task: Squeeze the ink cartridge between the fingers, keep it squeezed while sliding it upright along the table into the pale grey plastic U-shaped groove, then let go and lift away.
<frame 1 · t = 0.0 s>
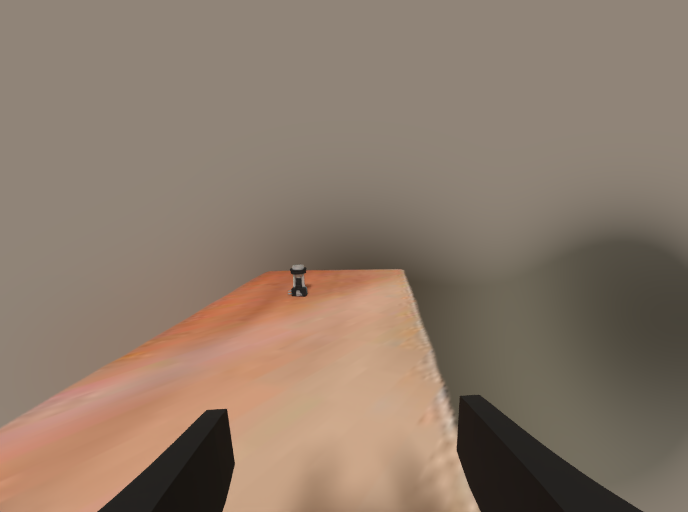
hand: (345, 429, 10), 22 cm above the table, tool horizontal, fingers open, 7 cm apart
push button: (297, 296, 106), on the table
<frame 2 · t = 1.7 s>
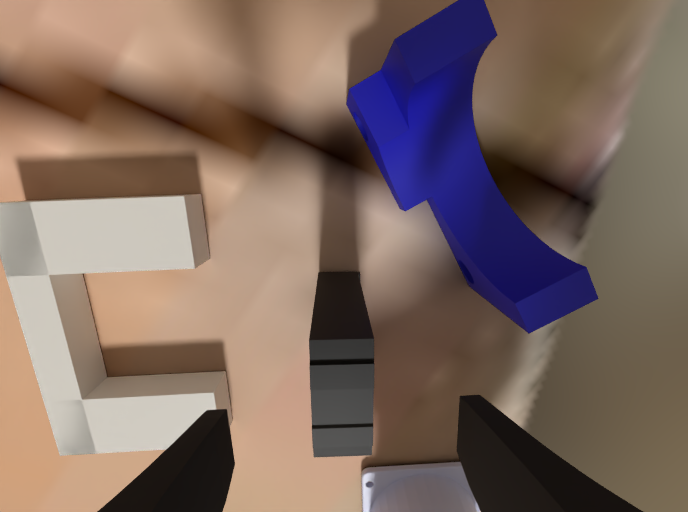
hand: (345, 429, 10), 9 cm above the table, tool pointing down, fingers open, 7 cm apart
blue curved piece: (434, 187, 18), on the table
groove holder: (165, 319, 18), on the table
ink cartridge: (339, 309, 19), on the table
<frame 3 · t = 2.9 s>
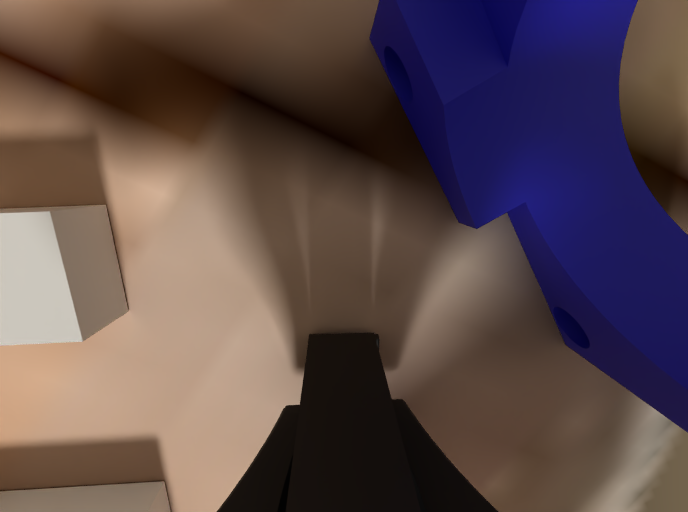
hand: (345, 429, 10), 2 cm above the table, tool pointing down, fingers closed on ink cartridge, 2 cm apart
blue curved piece: (516, 186, 10), on the table
groove holder: (61, 407, 11), on the table
ink cartridge: (343, 387, 12), on the table, touching gripper
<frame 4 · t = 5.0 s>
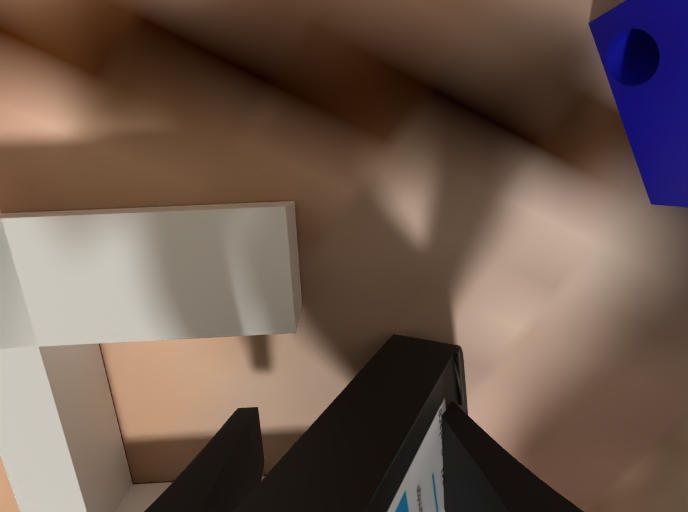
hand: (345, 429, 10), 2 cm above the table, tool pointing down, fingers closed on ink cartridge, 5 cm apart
groove holder: (226, 399, 12), on the table
ink cartridge: (439, 395, 11), on the table, touching gripper
when the fingers open (2 cm above the table, at t = 6.7 s): ink cartridge stays where it is, on the table.
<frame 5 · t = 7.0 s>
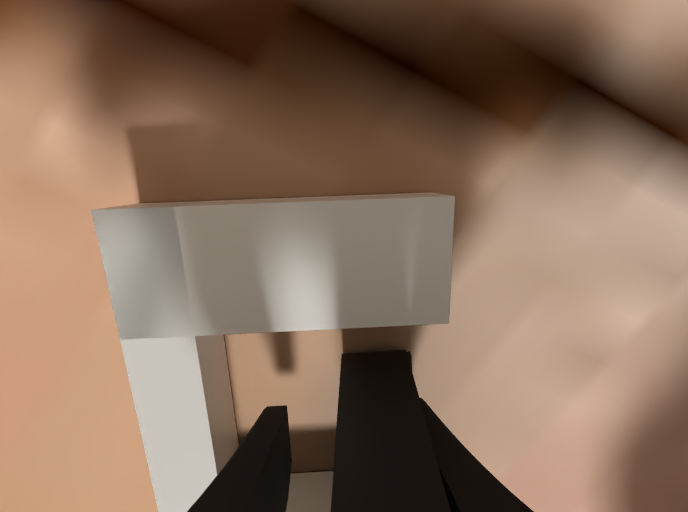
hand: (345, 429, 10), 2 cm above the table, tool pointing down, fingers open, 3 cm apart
groove holder: (343, 391, 12), on the table
ink cartridge: (379, 403, 12), on the table, touching gripper
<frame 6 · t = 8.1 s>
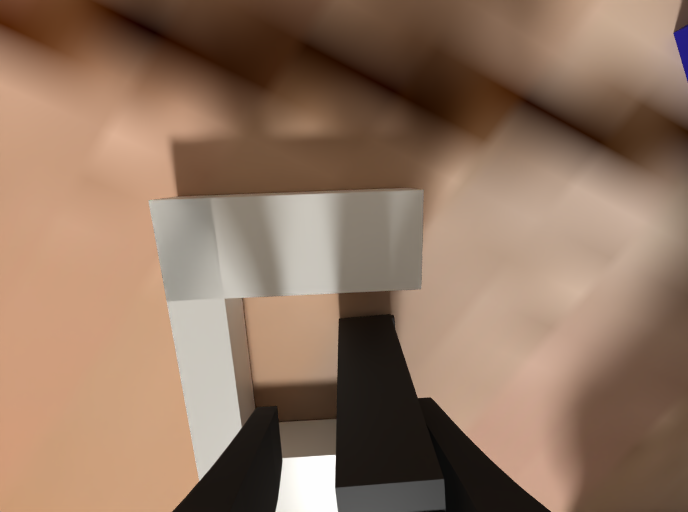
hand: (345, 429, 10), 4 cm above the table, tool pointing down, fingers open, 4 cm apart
groove holder: (340, 351, 14), on the table
ink cartridge: (369, 361, 15), on the table, touching gripper
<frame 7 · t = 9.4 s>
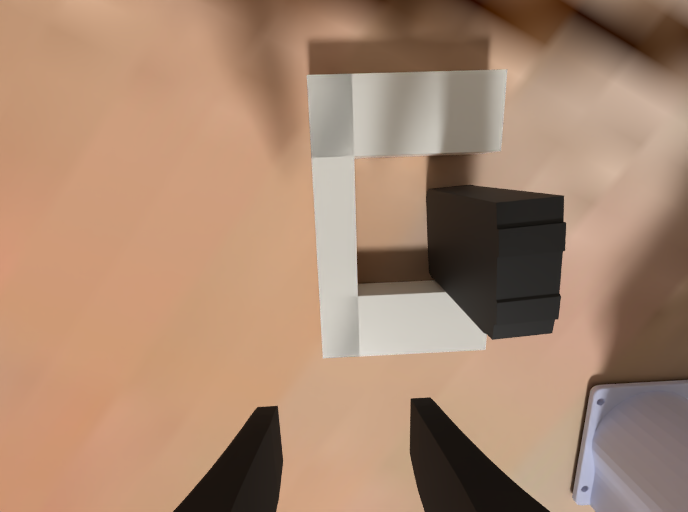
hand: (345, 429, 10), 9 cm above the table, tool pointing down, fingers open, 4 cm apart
groove holder: (424, 221, 18), on the table
ink cartridge: (445, 231, 18), on the table
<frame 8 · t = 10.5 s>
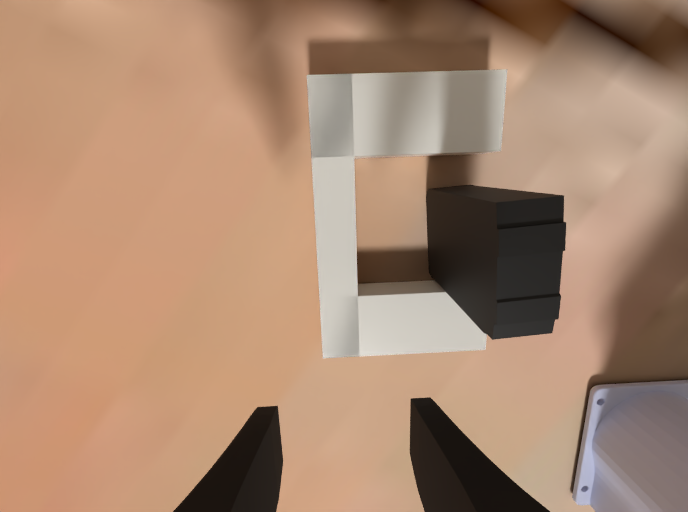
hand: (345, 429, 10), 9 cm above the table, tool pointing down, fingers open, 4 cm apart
groove holder: (424, 221, 18), on the table
ink cartridge: (445, 231, 18), on the table
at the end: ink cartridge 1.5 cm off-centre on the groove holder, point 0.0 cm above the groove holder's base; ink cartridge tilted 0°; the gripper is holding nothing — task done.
